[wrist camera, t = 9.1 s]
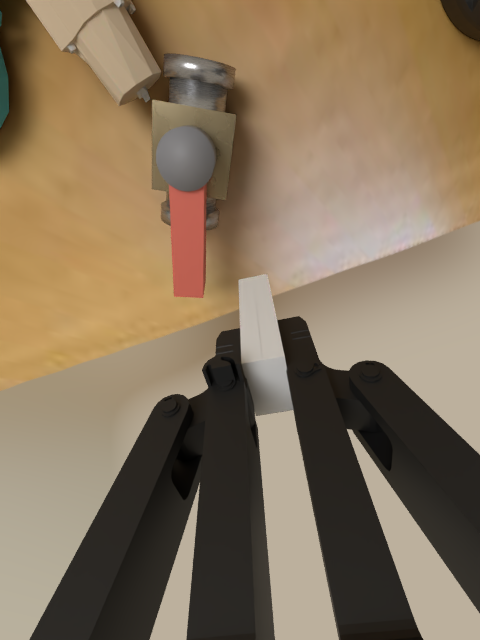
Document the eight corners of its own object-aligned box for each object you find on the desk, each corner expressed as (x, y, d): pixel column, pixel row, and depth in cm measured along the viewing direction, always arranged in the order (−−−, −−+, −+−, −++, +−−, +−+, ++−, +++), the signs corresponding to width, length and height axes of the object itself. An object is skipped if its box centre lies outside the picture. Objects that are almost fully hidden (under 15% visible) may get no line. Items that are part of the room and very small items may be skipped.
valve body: (165, 60, 30) (150, 47, 24) (240, 74, 30) (242, 65, 25) (162, 208, 37) (150, 225, 31) (223, 216, 37) (221, 235, 32)
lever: (163, 123, 26) (153, 124, 23) (217, 127, 26) (215, 129, 23) (171, 279, 34) (165, 298, 31) (213, 281, 34) (211, 300, 31)
